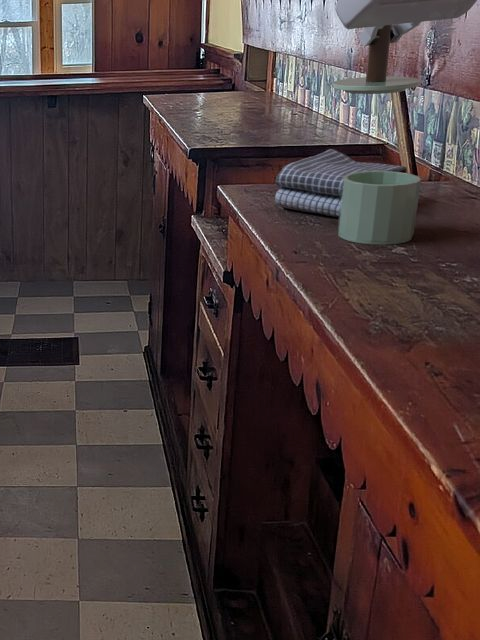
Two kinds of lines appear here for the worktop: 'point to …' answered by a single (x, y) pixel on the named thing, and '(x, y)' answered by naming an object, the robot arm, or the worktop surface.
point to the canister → (378, 207)
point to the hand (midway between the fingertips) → (376, 41)
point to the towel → (320, 181)
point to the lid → (377, 71)
